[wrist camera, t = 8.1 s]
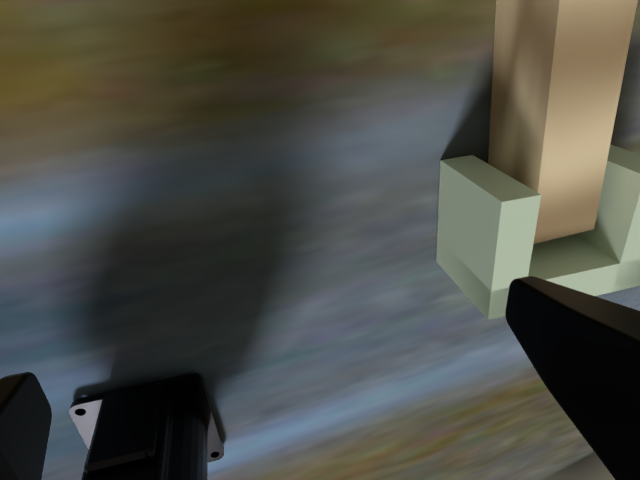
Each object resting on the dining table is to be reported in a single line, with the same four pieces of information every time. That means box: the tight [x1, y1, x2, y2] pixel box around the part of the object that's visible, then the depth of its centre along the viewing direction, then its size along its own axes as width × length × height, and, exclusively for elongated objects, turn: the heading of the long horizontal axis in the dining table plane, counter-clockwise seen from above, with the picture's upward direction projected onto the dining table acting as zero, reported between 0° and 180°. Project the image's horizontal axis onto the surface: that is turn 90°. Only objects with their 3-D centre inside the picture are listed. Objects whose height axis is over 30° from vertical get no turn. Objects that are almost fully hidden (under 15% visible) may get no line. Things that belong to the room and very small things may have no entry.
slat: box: [488, 0, 638, 244], centre depth 17 cm, size 15×3×4 cm, turn 8°
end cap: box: [436, 144, 640, 320], centre depth 20 cm, size 6×8×5 cm
